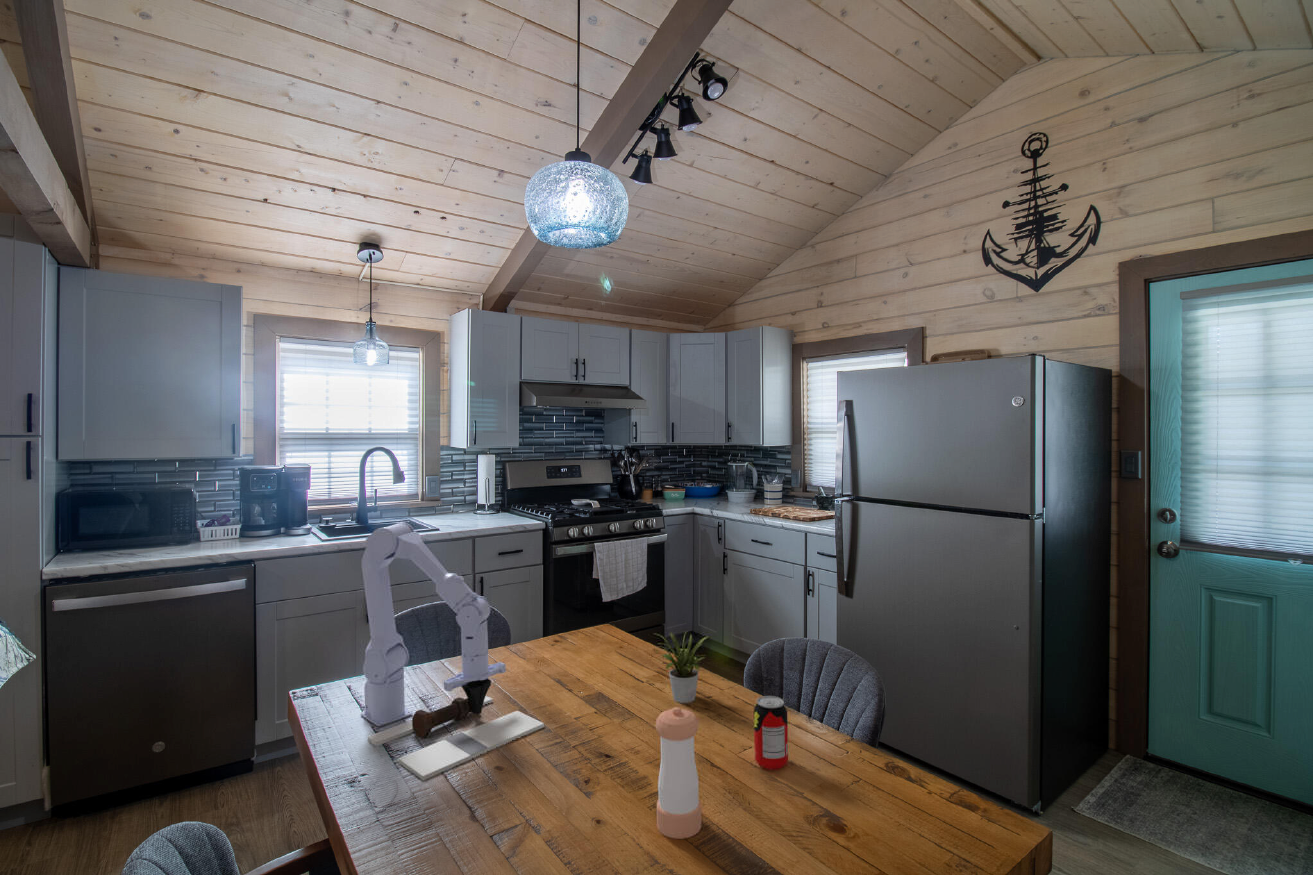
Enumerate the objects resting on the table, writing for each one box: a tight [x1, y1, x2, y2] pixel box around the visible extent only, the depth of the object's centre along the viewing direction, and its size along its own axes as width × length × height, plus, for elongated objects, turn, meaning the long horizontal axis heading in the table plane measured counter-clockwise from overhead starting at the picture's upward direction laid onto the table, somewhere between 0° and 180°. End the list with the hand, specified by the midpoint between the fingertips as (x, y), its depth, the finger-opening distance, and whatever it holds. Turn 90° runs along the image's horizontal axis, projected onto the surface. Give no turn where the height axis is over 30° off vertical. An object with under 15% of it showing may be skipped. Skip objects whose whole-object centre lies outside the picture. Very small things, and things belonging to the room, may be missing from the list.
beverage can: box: [753, 695, 789, 771], centre depth 123 cm, size 6×6×12 cm
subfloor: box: [367, 695, 545, 781], centre depth 138 cm, size 24×28×1 cm
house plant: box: [652, 630, 710, 704], centre depth 153 cm, size 14×14×16 cm
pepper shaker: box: [655, 706, 702, 840], centre depth 104 cm, size 7×7×19 cm
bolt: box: [411, 697, 472, 739], centre depth 143 cm, size 6×5×15 cm
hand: (476, 712), depth 145 cm, fingers closed
